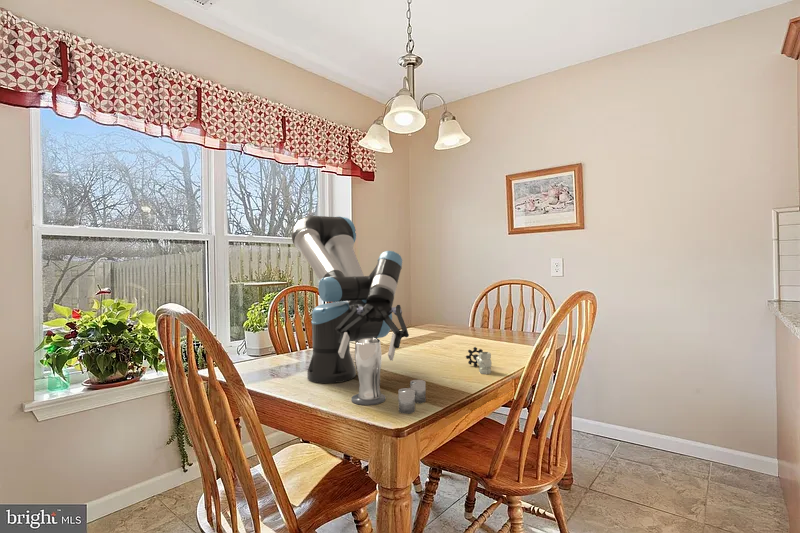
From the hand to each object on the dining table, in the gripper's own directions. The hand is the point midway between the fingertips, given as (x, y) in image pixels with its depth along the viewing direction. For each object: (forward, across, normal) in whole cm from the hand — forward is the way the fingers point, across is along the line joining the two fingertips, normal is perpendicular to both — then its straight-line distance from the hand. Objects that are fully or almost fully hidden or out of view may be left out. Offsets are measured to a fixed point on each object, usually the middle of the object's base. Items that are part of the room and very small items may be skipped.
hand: (365, 356), depth 114 cm
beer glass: (+6, 0, -10) cm, 12 cm away
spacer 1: (-3, +3, -19) cm, 20 cm away
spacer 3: (+5, -13, -12) cm, 18 cm away
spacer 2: (+11, -12, -6) cm, 17 cm away
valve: (-20, -26, -37) cm, 50 cm away
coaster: (+7, 0, -10) cm, 12 cm away
